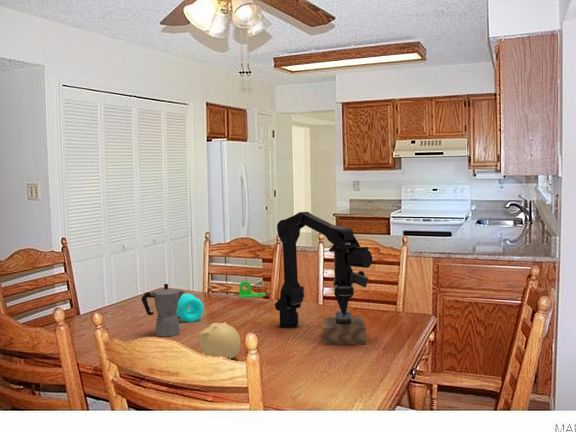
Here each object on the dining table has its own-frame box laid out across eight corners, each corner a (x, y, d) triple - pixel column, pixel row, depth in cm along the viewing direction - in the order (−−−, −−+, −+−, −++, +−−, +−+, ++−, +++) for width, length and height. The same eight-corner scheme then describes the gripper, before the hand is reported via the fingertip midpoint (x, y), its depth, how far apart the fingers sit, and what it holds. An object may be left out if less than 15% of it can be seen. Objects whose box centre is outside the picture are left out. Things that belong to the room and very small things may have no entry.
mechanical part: (239, 300, 253) (239, 283, 253) (239, 298, 259) (239, 281, 259) (265, 299, 255) (265, 282, 254) (265, 296, 261) (264, 280, 260)
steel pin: (336, 339, 185) (335, 314, 184) (335, 334, 190) (335, 310, 190) (352, 338, 185) (351, 313, 184) (351, 334, 190) (351, 310, 189)
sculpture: (216, 350, 177) (215, 317, 177) (247, 355, 171) (246, 320, 171) (193, 360, 167) (192, 325, 167) (225, 366, 161) (224, 329, 161)
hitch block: (323, 344, 181) (322, 327, 181) (323, 332, 195) (322, 317, 195) (366, 344, 180) (365, 327, 180) (363, 332, 194) (362, 317, 194)
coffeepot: (182, 327, 206) (180, 280, 205) (189, 333, 197) (187, 284, 196) (140, 333, 199) (138, 284, 198) (145, 340, 191) (143, 288, 190)
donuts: (197, 316, 224) (196, 291, 223) (204, 321, 215) (204, 296, 214) (173, 319, 220) (172, 294, 219) (179, 324, 211) (178, 298, 210)
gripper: (369, 269, 176) (369, 317, 177) (364, 261, 195) (365, 304, 195) (334, 269, 177) (335, 317, 178) (333, 261, 195) (334, 305, 196)
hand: (343, 311), depth 187 cm, fingers open, 9 cm apart
